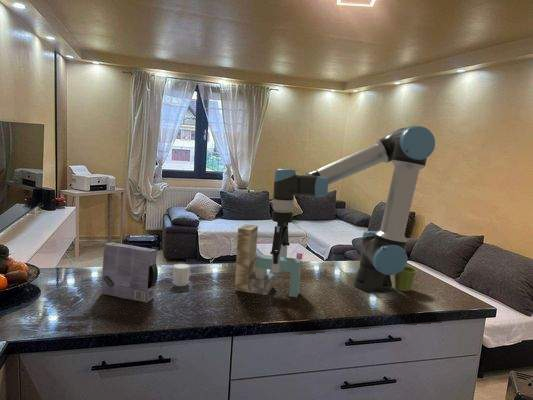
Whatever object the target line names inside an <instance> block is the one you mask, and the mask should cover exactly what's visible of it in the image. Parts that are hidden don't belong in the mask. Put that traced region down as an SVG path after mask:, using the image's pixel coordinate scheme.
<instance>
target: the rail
mask: <svg viewBox="0 0 533 400" xmlns="http://www.w3.org/2000/svg"><path fill="white" fill-rule="evenodd" d="M268 270H269V271H271V270H272V255H271V254H270V255H269V254H260V253H259V255H257V265H256V279H260V280H265V279H266V277H267V274H268V273H267V272H268ZM301 271H302V258H293V257H287V258H286V257H280V268H279V272H283V273H284V272H286V273H290V275H289V292H288V297H291V298H292V297H293V298H298V295H299V294H300V287H301V286H300V284H301V275H302V274H301V273H302V272H301Z"/></svg>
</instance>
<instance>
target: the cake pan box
mask: <svg viewBox="0 0 533 400" xmlns="http://www.w3.org/2000/svg"><path fill="white" fill-rule="evenodd" d="M157 253H158V249H154V248H148V247H141V246H136V245H132V244H131V245H130V244H124V243H118V242H113V241H112V242H107V243H104V244H103V257H102V272H101V273H102V274H101V275H102V276H101V277H102V278H101V290H100V294H101V295H106V296H112V297H115V298H120V299H124V300H132V301H136V302H137V301H138V302H143V303H144V304H145V303H146V304H148V303H149V302H150V301H152V300H153V299H154V298H155V286H156V284H157V281H158V275H159V270H158V266H157Z"/></svg>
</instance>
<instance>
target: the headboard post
mask: <svg viewBox="0 0 533 400" xmlns="http://www.w3.org/2000/svg"><path fill="white" fill-rule="evenodd" d="M258 229H259V226H258V225H253V224H244V225H242V226H241V227H239V228H237V238H236V241H237V243H236V256H235V257H236V258H235V275H234V279H235V280H234V291H237V292H238V291H239V292H242V293H243V292H244V293H251V294H257V295H258V294H259V295H262V296H264V295H265V296H268V295H269V293H270V292H271V290H272V288H273V286H274V274H273V273H267V277H266V279H265V280H260V279H256V272H255V263H256V253H257V247H258V245H257V244H258Z"/></svg>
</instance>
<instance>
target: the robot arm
mask: <svg viewBox="0 0 533 400" xmlns="http://www.w3.org/2000/svg"><path fill="white" fill-rule="evenodd" d="M435 147H436V139H435V136H434V134H433V132H432V131H431V130H430V129H429V128H427V127H425V126H422V125H410V126H408V127H403V128H402V127H401V128H398V129H396V130H395V131H393V132H391V133H390V134H388V135H386V136H384V137H382V138H380V139H378V140H376V141H375V143H374V144H373V145H370V146H368V147H366V148H363V149H361V150H359V151H357V152H354V153H352V154H349V155H346V156H344V157H343V158H340V159H338V160H335V161H333V162H331V163H329V164H326V165H324V166H322V167H319V168H317V169H315V170H313V171H310V172H306V173H303V174H302V175H299V174H297V173H296V170H295V169H293V168H277V169H276V170H275V171H274V179H273V196H272V197H273V200H272V201H271V204H272V210H273V211H272V213H271V220H272V221H273V223H274V222H275V223H277V224H276V225H275V226H274V233H273V239H272V246H271V251H269V254H270V255H271V256H272V270H270V271H271V272H272V273H278V274H279V273H280V271H279V268H280V257H286V258H288V257H287V255H288V247H289V246H290V242H289V241H290V240H289V224H290V223H292V222H293V217H294V216H293V215H294V214H293V211H294V203H295V201H294V198H295V196H296V197H297V196H303V197H313V198H314V197H316V198H319V197H320V198H324V197H326V196H327V194H328V190H329V186H330V185H332V184H334V183H336V182H339V181H340V180H344V179H346V178H348V177H351V176H353V175H356V174H357V173H359V172H360V173H361V172H362V171H365V170H367V169H370V168H371V167H374V166H377V165H378V164H381V163H385V164H387V163H390V162H392V164H393V166H394V168H393V173H392V176H391V180H390V185H389V191H388V193H387V199H386V203H385V207H384V212H383V215H382V216H383V217H382V220H381V226H380V229H379V230H377V231H376V230H365V231H364V232H363V233H362V237H361V248H360V249H361V250H360V261H359V262H360V263H359V267H358V269H357V272H356V274H355V275H354V280H353V285H354V287H356V288H357V289H359V290H362V291H365V292H368V293H369V292H370V293H378V294H382V293H383V294H384V293H389V292H391V291H392V290H393V283H392V282H393V281H392V277H391V276H393V275H394V276H395V274H397V273H399V272H401V271H402V270H403V269H404V268H405V266H407V264H408V259H409V258H408V255H407V252H406V248H407V245H408V239H407V238H406V236H405V234H406V228H407V224H408V220H409V216H410V213H411V207H412V204H413V198H414V194H415V190H416V186H417V182H418V178H419V174H420V171H421V170H422V169H424V168H426V165H427V160H428V158H429V157H430V156H431V155H432V154H433V152H434V151H435Z"/></svg>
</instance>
